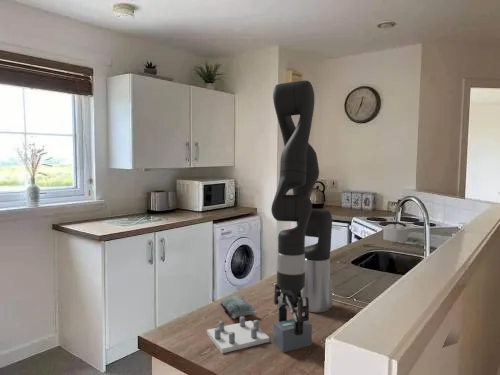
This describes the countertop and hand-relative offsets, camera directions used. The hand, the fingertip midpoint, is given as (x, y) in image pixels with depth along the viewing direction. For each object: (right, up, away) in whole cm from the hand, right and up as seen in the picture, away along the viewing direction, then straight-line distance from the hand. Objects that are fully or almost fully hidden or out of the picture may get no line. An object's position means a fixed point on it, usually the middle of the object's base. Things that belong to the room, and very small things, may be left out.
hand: (290, 328), depth 104 cm
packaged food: (-15, -3, +21) cm, 26 cm away
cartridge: (+1, -5, +1) cm, 5 cm away
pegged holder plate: (-14, -4, +5) cm, 16 cm away
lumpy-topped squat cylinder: (+75, +7, +124) cm, 145 cm away
